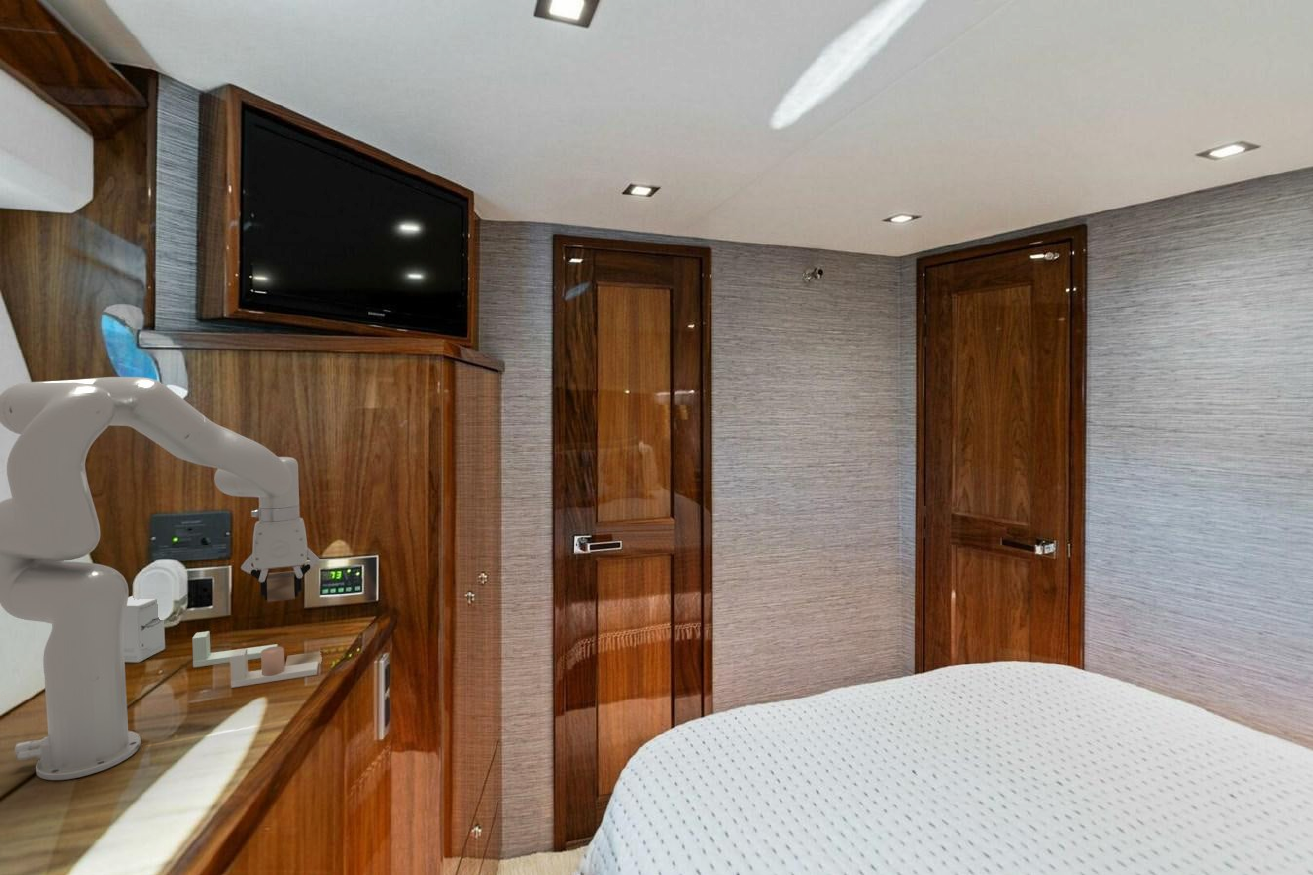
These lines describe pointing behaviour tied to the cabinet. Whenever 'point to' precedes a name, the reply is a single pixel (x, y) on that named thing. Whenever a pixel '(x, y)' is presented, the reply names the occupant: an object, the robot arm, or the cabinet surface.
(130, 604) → the supplement box
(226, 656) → the white l-shaped piece
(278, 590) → the block
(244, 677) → the strip
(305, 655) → the pad
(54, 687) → the robot arm
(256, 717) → the cabinet surface
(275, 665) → the pink cylinder
